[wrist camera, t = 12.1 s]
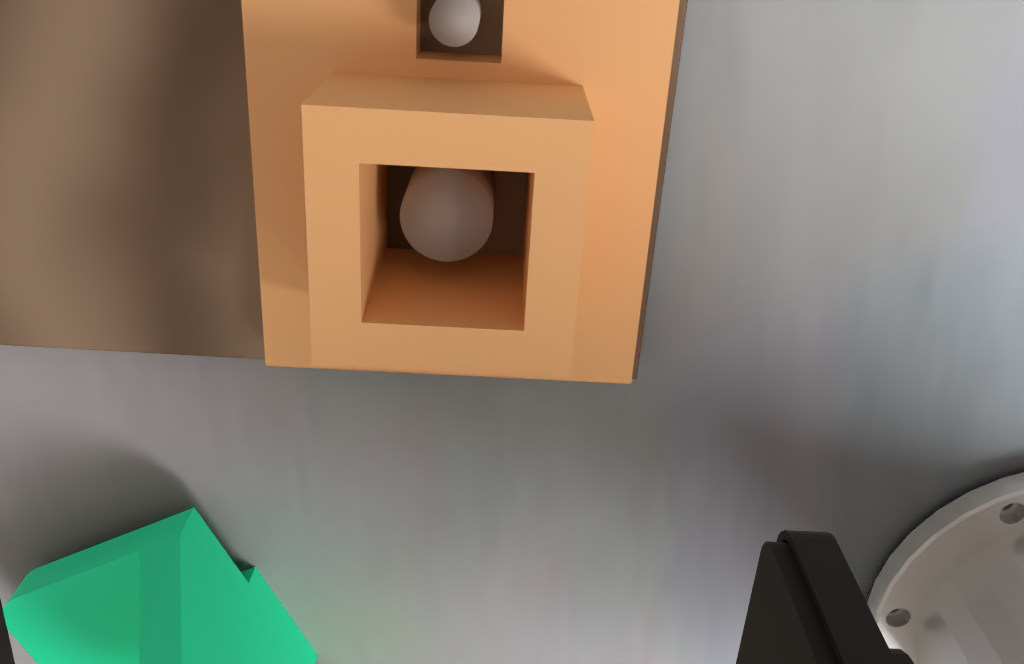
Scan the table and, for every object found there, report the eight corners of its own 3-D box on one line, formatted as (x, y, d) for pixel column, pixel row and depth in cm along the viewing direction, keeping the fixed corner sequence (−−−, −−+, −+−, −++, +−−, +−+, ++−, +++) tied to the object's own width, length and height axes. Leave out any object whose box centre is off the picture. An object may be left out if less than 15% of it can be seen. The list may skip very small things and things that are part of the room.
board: (684, -29, 25) (713, -14, 22) (632, 364, 30) (649, 429, 27) (-336, -96, 24) (-483, -92, 21) (-211, 318, 30) (-311, 378, 26)
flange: (274, 347, 29) (228, 437, 24) (251, -30, 24) (189, -10, 20) (627, 365, 29) (648, 457, 25) (672, -5, 24) (710, 21, 20)
